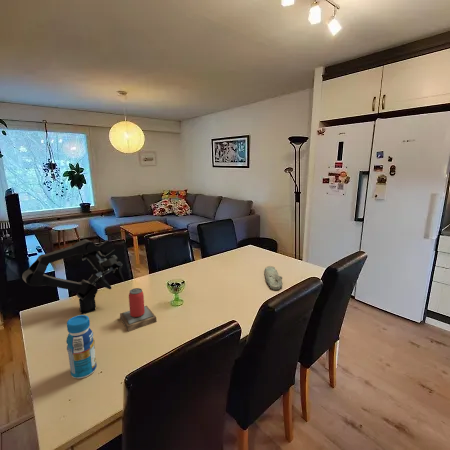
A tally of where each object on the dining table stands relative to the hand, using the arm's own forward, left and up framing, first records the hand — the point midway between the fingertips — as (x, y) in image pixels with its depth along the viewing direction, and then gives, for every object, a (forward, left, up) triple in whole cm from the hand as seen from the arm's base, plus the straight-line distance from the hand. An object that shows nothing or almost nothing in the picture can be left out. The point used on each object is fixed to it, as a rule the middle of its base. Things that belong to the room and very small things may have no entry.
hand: (117, 284), depth 132 cm
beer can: (+5, -15, -11) cm, 19 cm away
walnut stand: (+5, -15, -14) cm, 21 cm away
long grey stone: (+92, -17, -14) cm, 95 cm away
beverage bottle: (-21, -36, -14) cm, 44 cm away
